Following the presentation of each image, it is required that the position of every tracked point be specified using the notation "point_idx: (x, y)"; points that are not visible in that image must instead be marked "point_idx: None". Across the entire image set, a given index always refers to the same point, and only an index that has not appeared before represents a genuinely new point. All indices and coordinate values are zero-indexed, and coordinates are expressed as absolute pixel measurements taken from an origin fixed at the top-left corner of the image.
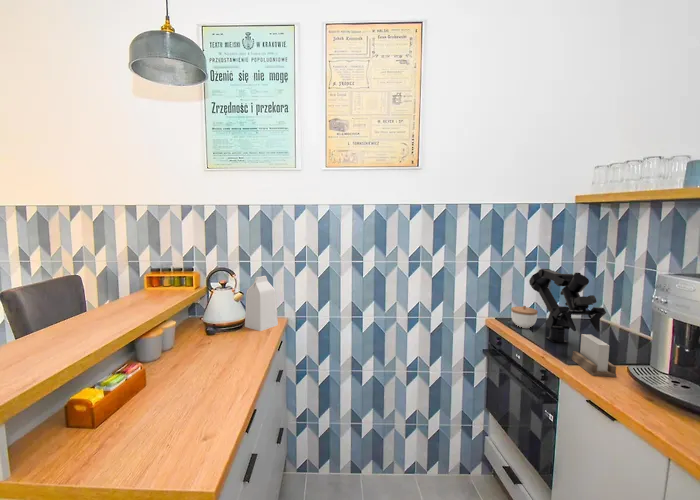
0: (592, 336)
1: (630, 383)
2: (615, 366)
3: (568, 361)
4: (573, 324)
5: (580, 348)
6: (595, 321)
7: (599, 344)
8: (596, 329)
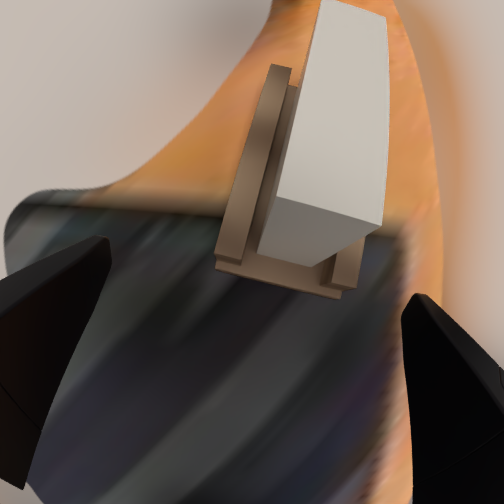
0: (310, 138)
1: (257, 52)
2: (272, 65)
3: (371, 272)
4: (463, 340)
5: (329, 256)
6: (11, 347)
7: (379, 19)
8: (95, 286)
